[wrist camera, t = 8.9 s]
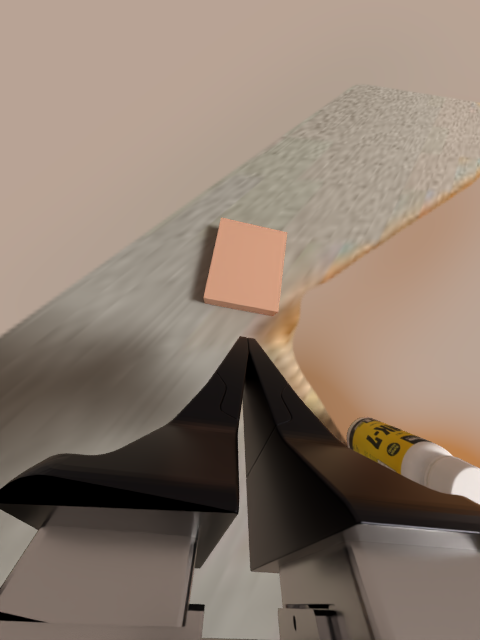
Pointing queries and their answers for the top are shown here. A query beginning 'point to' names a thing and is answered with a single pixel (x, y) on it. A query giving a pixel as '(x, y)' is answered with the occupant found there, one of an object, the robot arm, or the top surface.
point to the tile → (246, 268)
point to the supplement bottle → (414, 458)
